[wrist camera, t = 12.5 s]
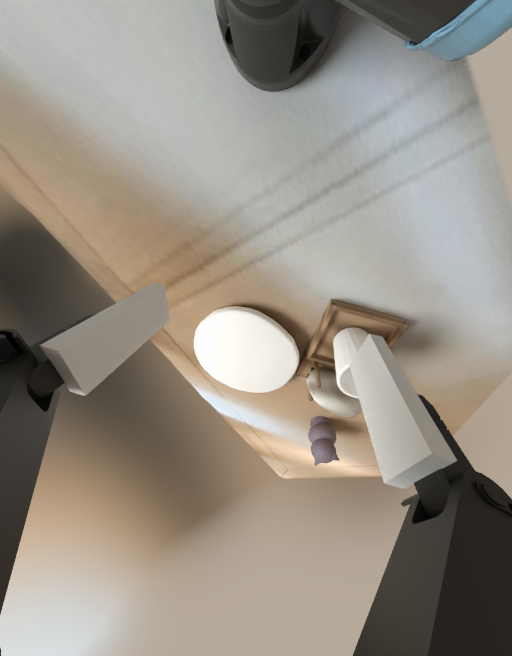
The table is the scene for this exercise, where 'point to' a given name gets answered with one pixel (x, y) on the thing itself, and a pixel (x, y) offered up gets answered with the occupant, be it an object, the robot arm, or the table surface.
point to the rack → (321, 353)
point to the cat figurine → (322, 440)
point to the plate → (246, 349)
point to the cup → (347, 357)
